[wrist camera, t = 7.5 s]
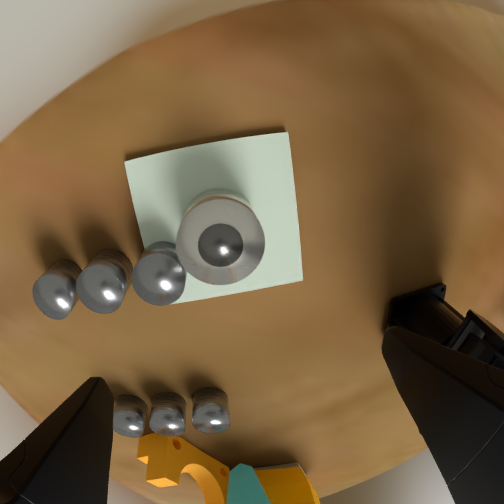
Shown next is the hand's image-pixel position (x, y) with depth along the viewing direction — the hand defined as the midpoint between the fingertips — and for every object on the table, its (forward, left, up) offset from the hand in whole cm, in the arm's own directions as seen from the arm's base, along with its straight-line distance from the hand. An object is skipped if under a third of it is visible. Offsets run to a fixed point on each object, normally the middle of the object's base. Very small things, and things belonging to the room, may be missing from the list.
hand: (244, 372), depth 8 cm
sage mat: (0, -1, -12) cm, 12 cm away
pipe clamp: (+10, +25, -12) cm, 30 cm away
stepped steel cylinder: (0, -1, -11) cm, 11 cm away
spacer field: (+8, +8, -12) cm, 16 cm away
